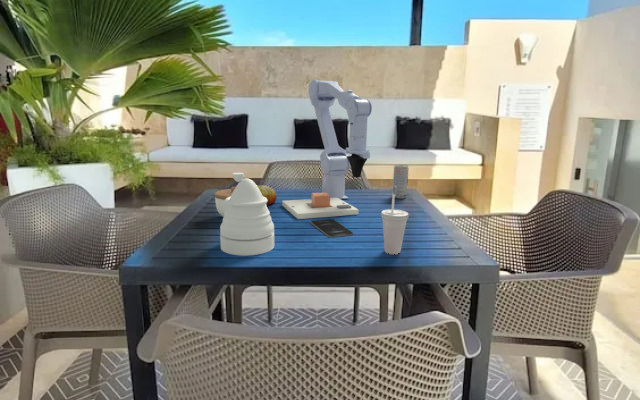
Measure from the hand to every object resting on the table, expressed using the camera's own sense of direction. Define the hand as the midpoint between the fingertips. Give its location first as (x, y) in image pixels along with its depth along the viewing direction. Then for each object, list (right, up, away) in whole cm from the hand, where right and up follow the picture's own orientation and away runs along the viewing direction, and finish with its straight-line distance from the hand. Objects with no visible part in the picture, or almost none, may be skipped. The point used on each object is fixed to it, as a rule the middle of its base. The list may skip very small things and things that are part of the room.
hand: (356, 177), depth 145 cm
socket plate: (-13, -11, -4) cm, 17 cm away
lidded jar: (-38, -13, -16) cm, 43 cm away
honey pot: (-30, -19, -41) cm, 54 cm away
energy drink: (+18, -7, +17) cm, 25 cm away
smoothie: (+5, -20, -43) cm, 47 cm away
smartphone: (-9, -16, -25) cm, 31 cm away
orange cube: (-12, -11, -4) cm, 17 cm away
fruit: (-32, -9, +3) cm, 34 cm away
